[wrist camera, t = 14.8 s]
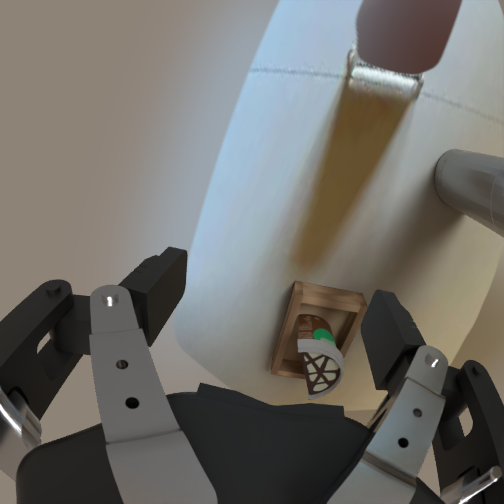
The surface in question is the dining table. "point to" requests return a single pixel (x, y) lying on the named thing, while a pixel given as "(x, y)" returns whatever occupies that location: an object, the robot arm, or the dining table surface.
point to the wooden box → (325, 306)
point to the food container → (319, 355)
